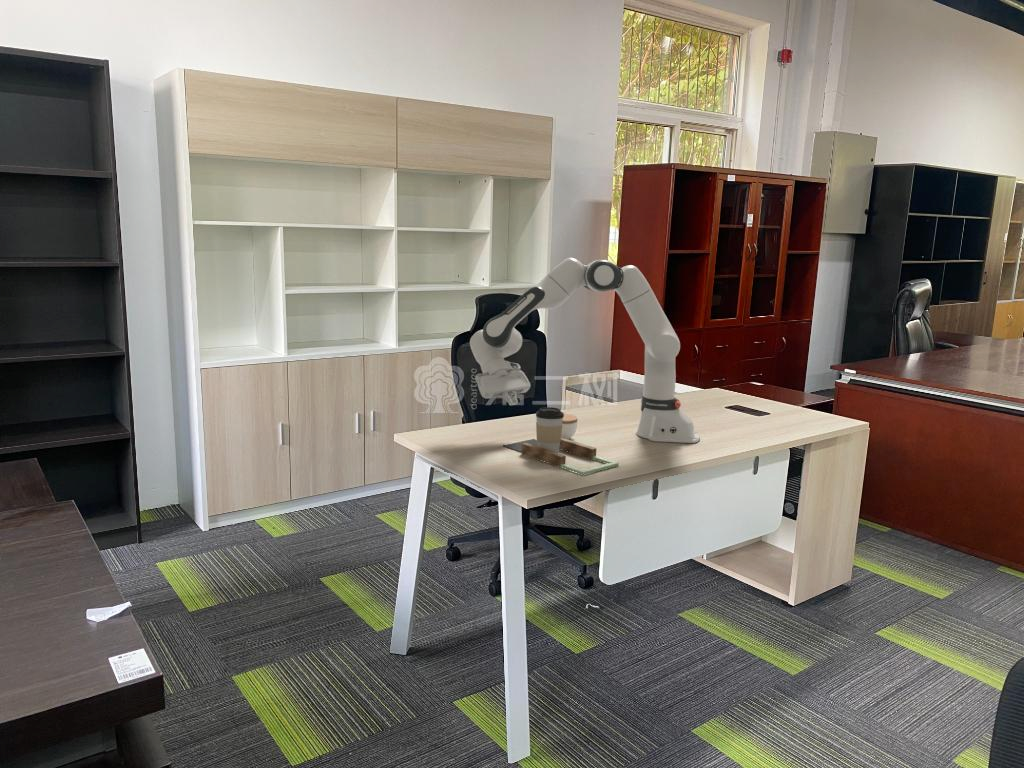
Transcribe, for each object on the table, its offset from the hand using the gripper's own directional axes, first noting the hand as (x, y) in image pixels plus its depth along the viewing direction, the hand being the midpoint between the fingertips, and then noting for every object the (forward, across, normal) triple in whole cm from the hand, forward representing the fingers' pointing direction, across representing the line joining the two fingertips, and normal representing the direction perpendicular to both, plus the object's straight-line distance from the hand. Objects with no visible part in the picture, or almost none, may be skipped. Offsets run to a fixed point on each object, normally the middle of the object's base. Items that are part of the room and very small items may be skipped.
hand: (514, 404), depth 257 cm
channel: (+25, 0, -7) cm, 26 cm away
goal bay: (+34, 0, -16) cm, 38 cm away
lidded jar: (+15, +16, +4) cm, 22 cm away
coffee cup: (+22, 0, -3) cm, 22 cm away
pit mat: (+15, 0, +4) cm, 15 cm away
